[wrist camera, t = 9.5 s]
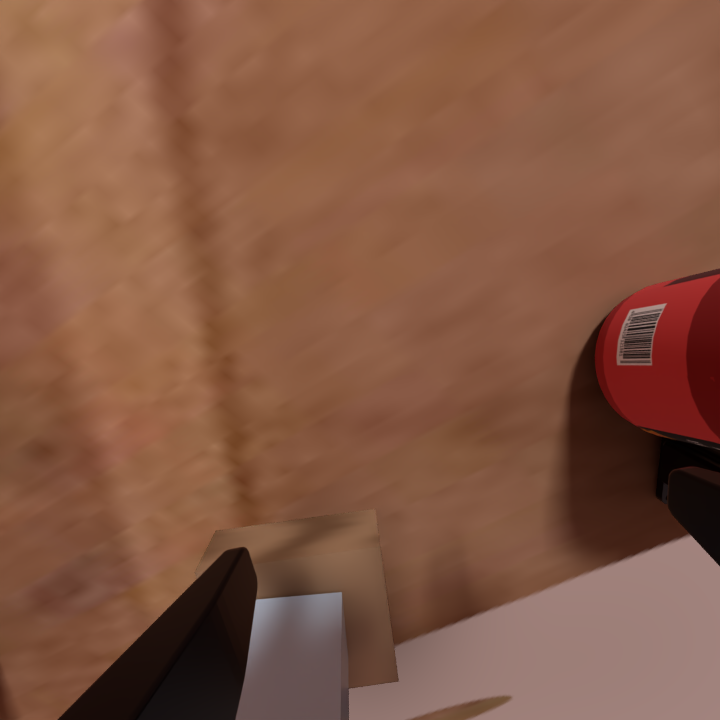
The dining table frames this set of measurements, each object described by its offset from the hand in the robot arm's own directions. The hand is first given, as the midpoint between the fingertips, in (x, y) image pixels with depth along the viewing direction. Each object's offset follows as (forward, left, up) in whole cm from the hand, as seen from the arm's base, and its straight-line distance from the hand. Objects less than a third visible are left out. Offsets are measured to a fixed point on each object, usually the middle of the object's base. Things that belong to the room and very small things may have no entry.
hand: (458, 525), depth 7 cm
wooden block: (+7, +14, -12) cm, 20 cm away
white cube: (+7, +14, -9) cm, 18 cm away
